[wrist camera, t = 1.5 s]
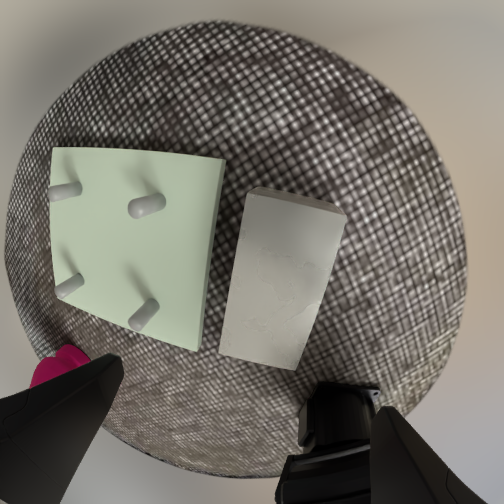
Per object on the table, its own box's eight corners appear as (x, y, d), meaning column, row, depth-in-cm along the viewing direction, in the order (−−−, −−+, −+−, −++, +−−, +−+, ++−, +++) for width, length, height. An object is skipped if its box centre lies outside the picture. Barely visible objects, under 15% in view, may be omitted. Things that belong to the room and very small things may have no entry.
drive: (259, 185, 18) (247, 192, 13) (332, 202, 17) (347, 216, 13) (233, 319, 21) (217, 358, 16) (294, 333, 21) (293, 376, 16)
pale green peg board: (226, 159, 17) (207, 158, 13) (201, 343, 22) (185, 375, 18) (61, 147, 19) (28, 148, 15) (64, 293, 23) (39, 310, 19)
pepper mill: (54, 351, 27) (-31, 437, 9) (69, 332, 25) (-37, 435, 6) (90, 389, 28) (16, 486, 10) (110, 377, 26) (22, 495, 7)
